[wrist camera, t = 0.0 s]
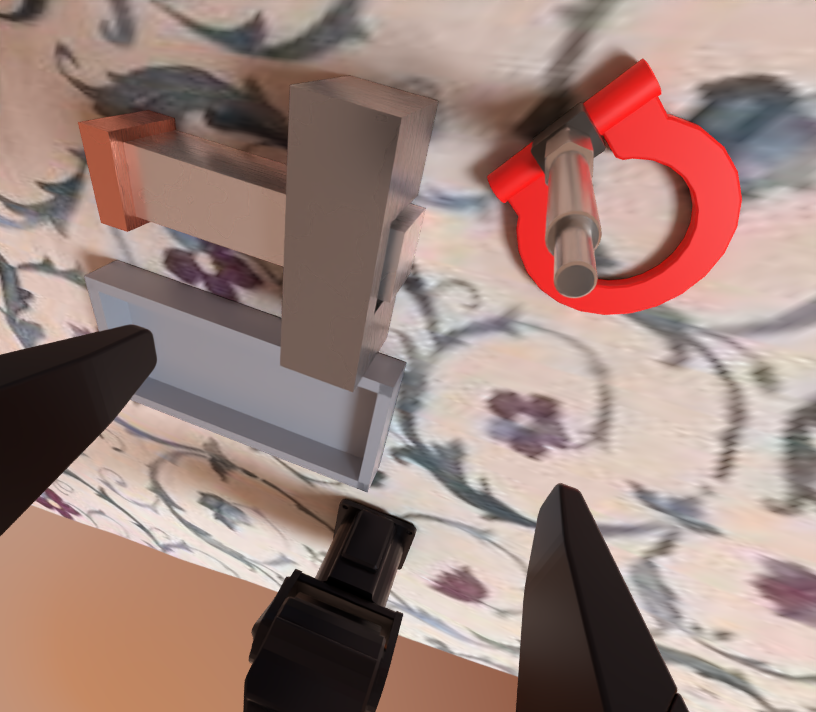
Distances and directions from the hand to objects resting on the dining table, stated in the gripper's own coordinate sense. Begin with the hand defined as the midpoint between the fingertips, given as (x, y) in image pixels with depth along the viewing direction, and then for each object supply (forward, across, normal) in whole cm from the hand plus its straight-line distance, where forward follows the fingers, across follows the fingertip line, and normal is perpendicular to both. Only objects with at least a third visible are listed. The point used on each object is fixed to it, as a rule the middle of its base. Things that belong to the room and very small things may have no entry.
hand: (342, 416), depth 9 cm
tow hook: (+15, -6, -2) cm, 16 cm away
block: (+15, +4, +2) cm, 16 cm away
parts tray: (+15, +11, +15) cm, 24 cm away
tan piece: (+15, +10, +2) cm, 18 cm away
